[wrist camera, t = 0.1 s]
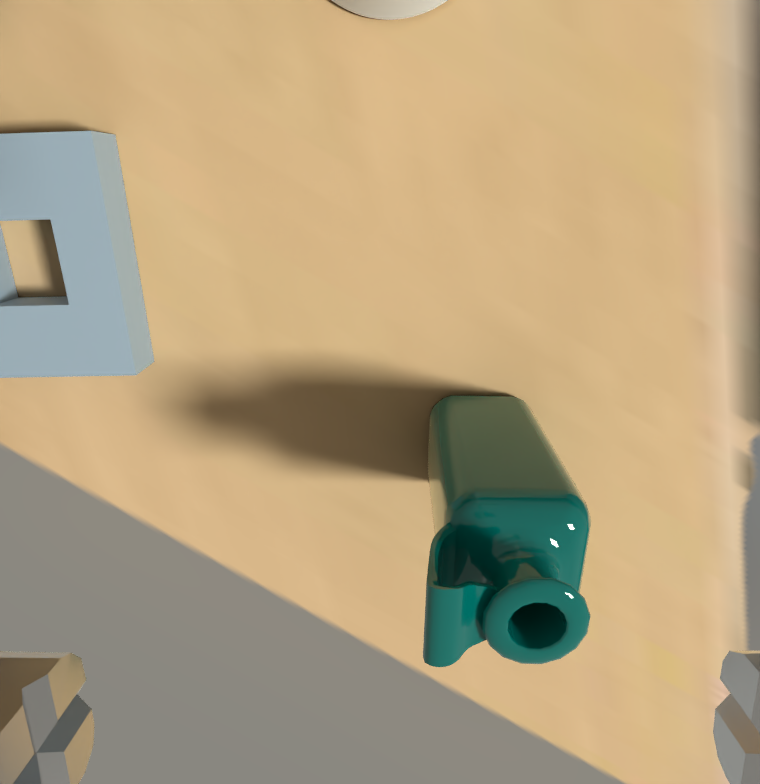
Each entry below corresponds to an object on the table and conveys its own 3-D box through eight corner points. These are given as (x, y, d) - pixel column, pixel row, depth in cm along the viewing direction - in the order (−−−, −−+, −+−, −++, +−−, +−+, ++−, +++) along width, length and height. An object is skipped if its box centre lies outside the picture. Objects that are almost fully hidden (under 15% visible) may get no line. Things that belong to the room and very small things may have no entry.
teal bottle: (533, 394, 47) (640, 562, 27) (523, 485, 50) (613, 699, 29) (414, 392, 47) (428, 556, 27) (411, 482, 50) (422, 693, 30)
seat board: (-75, 140, 42) (-116, 137, 38) (115, 134, 41) (91, 130, 38) (-13, 364, 47) (-43, 378, 44) (154, 361, 47) (136, 375, 44)
